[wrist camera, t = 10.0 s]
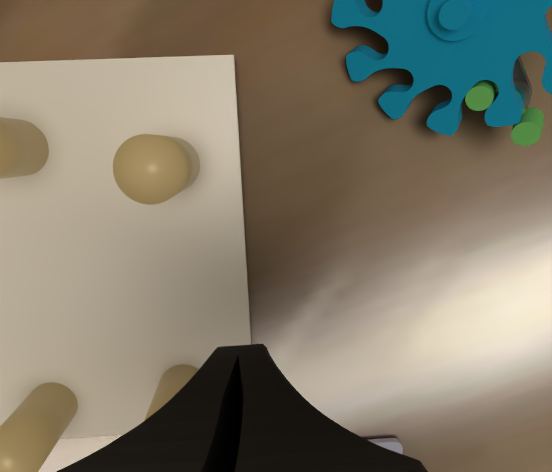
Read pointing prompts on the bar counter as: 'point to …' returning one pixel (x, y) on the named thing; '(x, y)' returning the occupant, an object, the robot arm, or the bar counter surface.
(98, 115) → the tray
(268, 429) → the robot arm
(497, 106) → the gear
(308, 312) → the bar counter surface
